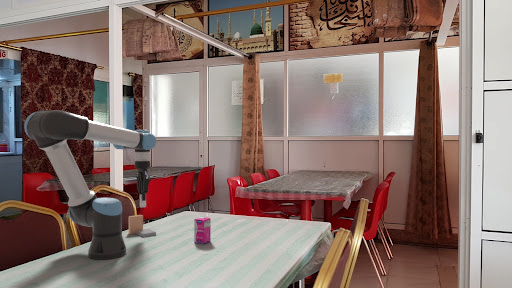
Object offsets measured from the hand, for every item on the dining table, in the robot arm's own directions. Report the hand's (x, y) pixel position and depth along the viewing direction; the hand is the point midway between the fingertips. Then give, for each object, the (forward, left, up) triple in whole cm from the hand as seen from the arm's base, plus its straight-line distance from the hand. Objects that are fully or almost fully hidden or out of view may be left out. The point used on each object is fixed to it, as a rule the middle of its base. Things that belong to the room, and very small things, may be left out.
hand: (142, 206), depth 200 cm
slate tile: (+3, -2, -14) cm, 15 cm away
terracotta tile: (0, +9, -15) cm, 17 cm away
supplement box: (+18, -29, -15) cm, 37 cm away
